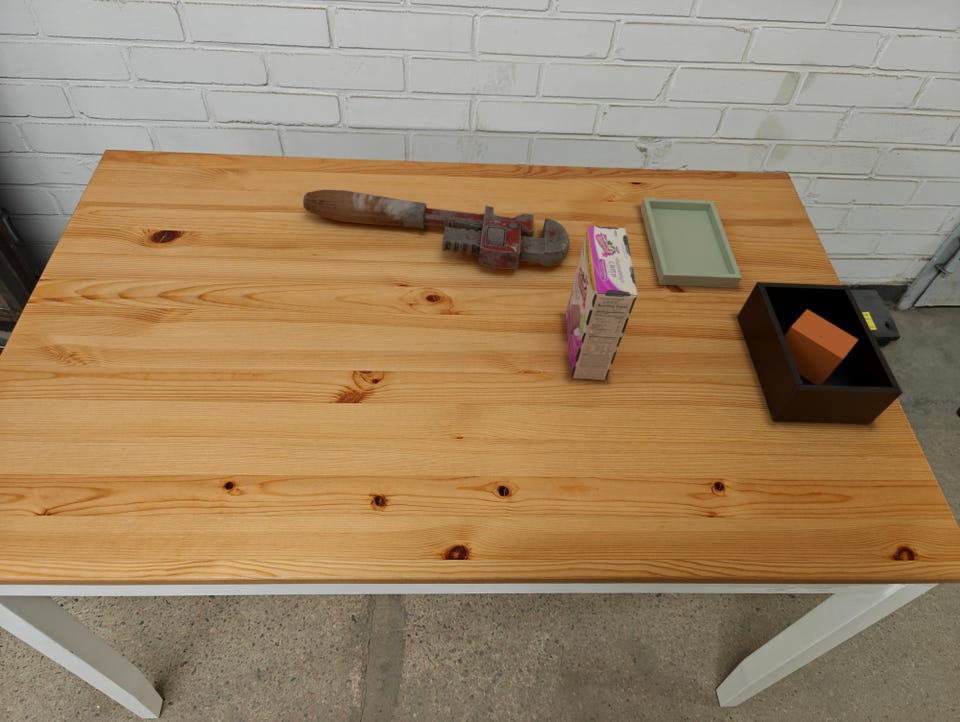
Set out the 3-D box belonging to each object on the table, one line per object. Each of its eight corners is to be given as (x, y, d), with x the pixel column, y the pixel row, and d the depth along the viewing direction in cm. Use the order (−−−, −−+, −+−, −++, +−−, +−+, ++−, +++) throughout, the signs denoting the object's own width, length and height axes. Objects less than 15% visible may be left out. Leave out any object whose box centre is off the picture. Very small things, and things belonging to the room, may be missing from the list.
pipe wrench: (567, 228, 99) (572, 202, 95) (567, 284, 91) (573, 258, 87) (311, 202, 99) (306, 175, 95) (290, 255, 91) (284, 229, 87)
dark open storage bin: (870, 424, 79) (903, 392, 74) (772, 421, 78) (798, 389, 73) (822, 319, 90) (848, 285, 84) (736, 316, 89) (757, 281, 84)
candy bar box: (562, 315, 87) (585, 223, 74) (598, 317, 87) (627, 225, 74) (568, 381, 80) (595, 291, 67) (607, 382, 81) (641, 294, 68)
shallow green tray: (736, 287, 93) (742, 277, 91) (659, 284, 92) (663, 274, 90) (709, 211, 103) (713, 200, 102) (640, 207, 103) (643, 197, 101)
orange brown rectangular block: (834, 368, 83) (858, 339, 78) (819, 387, 81) (843, 359, 76) (786, 338, 86) (807, 308, 81) (770, 356, 84) (791, 326, 79)
